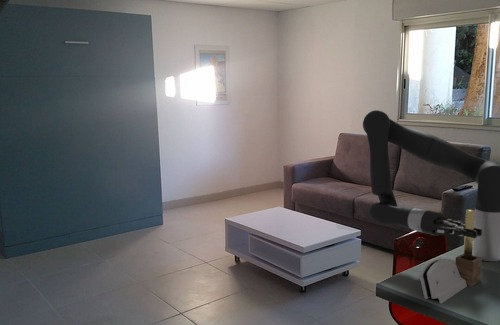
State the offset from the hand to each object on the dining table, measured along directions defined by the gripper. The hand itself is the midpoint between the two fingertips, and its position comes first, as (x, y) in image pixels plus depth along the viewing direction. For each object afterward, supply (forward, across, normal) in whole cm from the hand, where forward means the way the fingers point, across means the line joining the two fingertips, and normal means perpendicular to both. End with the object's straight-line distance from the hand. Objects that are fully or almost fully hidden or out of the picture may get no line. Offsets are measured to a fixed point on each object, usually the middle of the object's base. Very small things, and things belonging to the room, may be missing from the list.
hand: (478, 233), depth 136 cm
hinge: (-4, -12, +16) cm, 21 cm away
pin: (-3, 0, +8) cm, 9 cm away
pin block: (-3, 0, +16) cm, 16 cm away
